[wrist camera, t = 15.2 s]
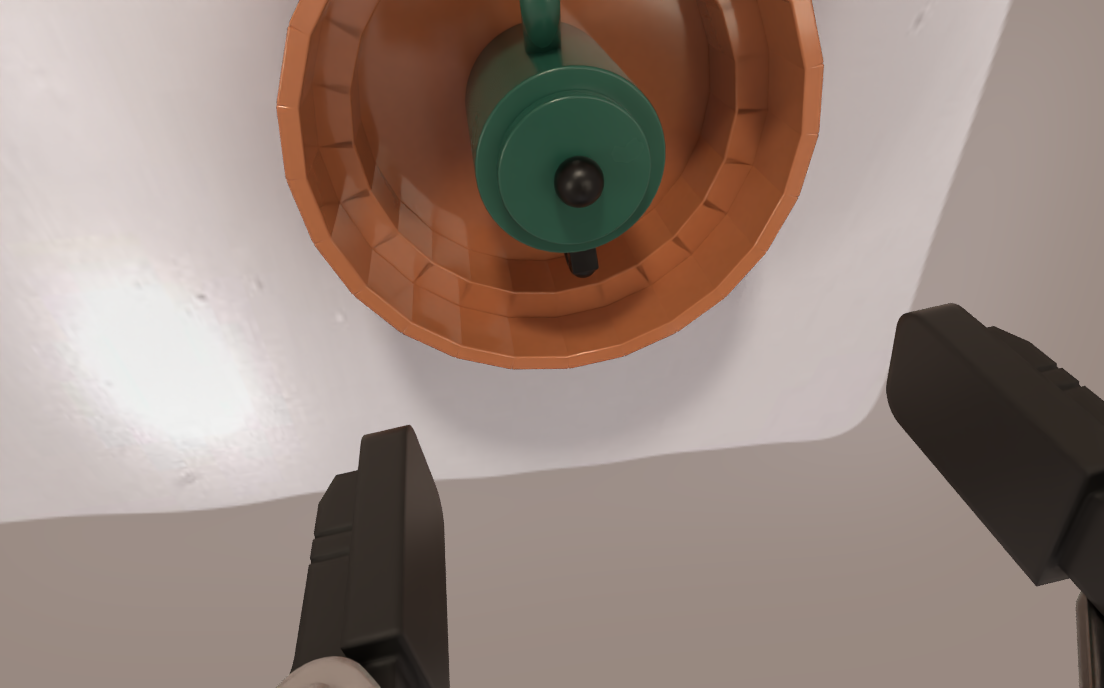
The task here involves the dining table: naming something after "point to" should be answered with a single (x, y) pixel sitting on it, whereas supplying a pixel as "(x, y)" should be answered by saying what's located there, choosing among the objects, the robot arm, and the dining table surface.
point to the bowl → (451, 189)
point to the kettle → (560, 138)
